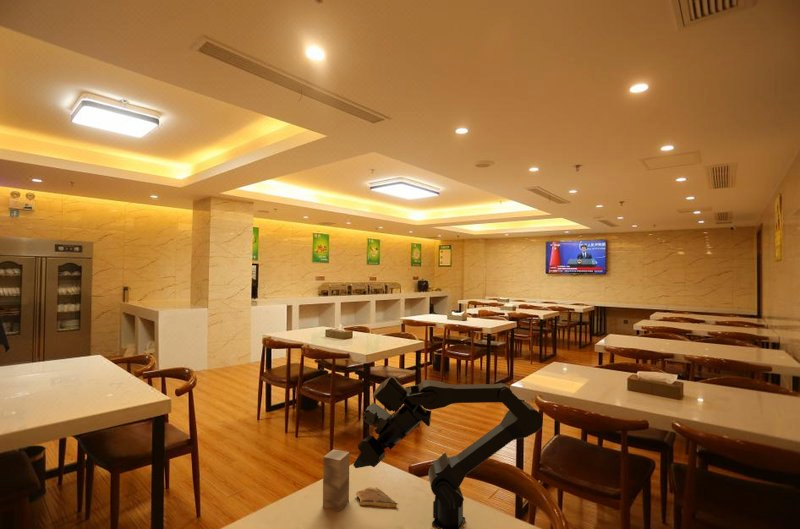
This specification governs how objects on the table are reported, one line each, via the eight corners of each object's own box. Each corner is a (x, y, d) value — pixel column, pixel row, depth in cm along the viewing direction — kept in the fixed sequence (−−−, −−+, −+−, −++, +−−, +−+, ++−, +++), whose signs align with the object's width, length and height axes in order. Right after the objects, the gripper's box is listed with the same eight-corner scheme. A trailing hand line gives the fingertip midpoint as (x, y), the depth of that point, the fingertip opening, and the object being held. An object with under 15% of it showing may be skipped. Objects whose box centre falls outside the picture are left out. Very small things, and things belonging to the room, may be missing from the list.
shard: (397, 509, 103) (397, 502, 103) (373, 519, 98) (373, 512, 98) (375, 490, 112) (375, 484, 112) (352, 499, 107) (352, 493, 107)
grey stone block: (348, 501, 105) (349, 452, 106) (339, 511, 101) (339, 460, 101) (332, 496, 107) (333, 449, 108) (322, 506, 103) (323, 456, 103)
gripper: (396, 386, 109) (360, 420, 112) (365, 407, 91) (324, 447, 95) (423, 419, 105) (385, 453, 109) (396, 447, 88) (352, 486, 92)
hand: (363, 458), depth 102 cm, fingers open, 9 cm apart
